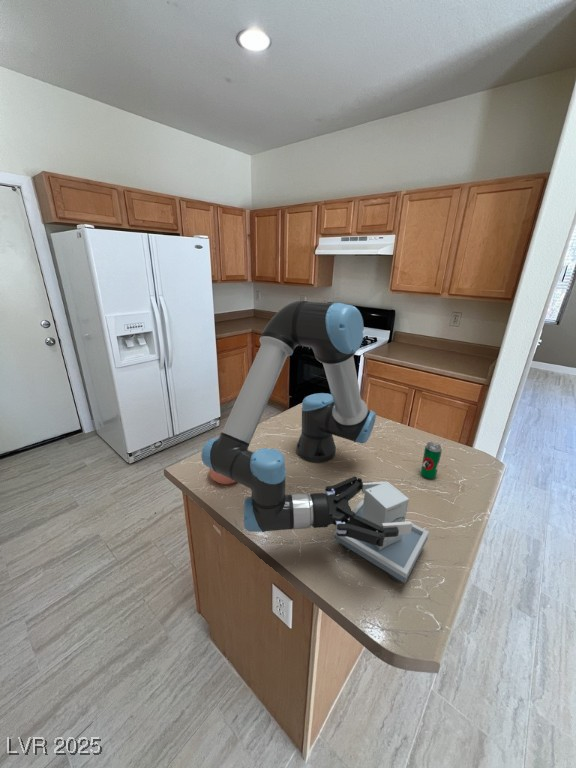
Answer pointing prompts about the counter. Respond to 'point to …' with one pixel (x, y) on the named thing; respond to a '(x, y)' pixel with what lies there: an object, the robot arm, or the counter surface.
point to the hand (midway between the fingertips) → (398, 505)
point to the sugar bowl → (220, 477)
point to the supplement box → (385, 508)
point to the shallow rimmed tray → (389, 550)
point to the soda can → (431, 460)
